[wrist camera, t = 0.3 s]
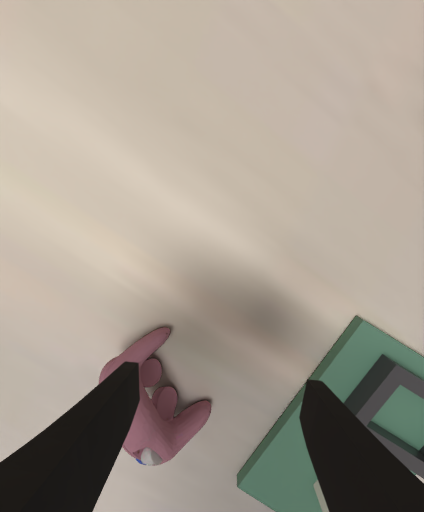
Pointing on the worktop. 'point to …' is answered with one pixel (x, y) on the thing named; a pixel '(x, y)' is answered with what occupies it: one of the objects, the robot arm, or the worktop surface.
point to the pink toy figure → (156, 407)
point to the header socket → (375, 396)
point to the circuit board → (342, 385)
